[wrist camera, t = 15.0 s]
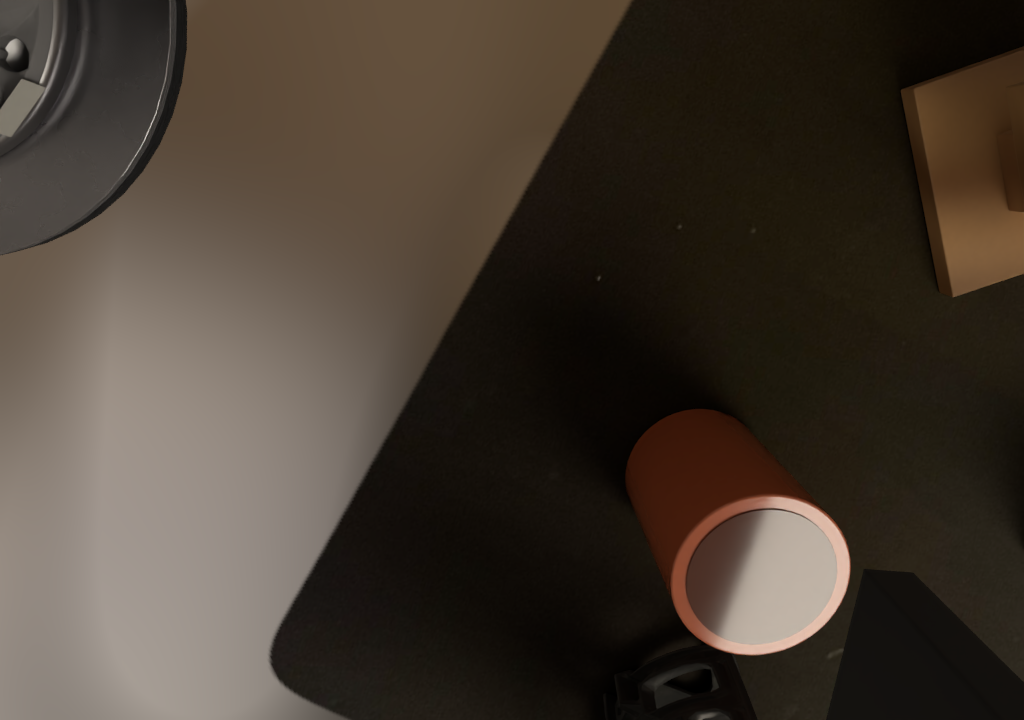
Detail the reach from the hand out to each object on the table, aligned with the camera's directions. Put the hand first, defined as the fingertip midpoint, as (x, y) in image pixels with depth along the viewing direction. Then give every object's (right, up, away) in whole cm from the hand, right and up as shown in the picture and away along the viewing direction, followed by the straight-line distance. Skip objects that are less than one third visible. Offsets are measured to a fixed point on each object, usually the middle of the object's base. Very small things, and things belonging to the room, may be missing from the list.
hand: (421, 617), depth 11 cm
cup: (+11, -2, +29) cm, 31 cm away
